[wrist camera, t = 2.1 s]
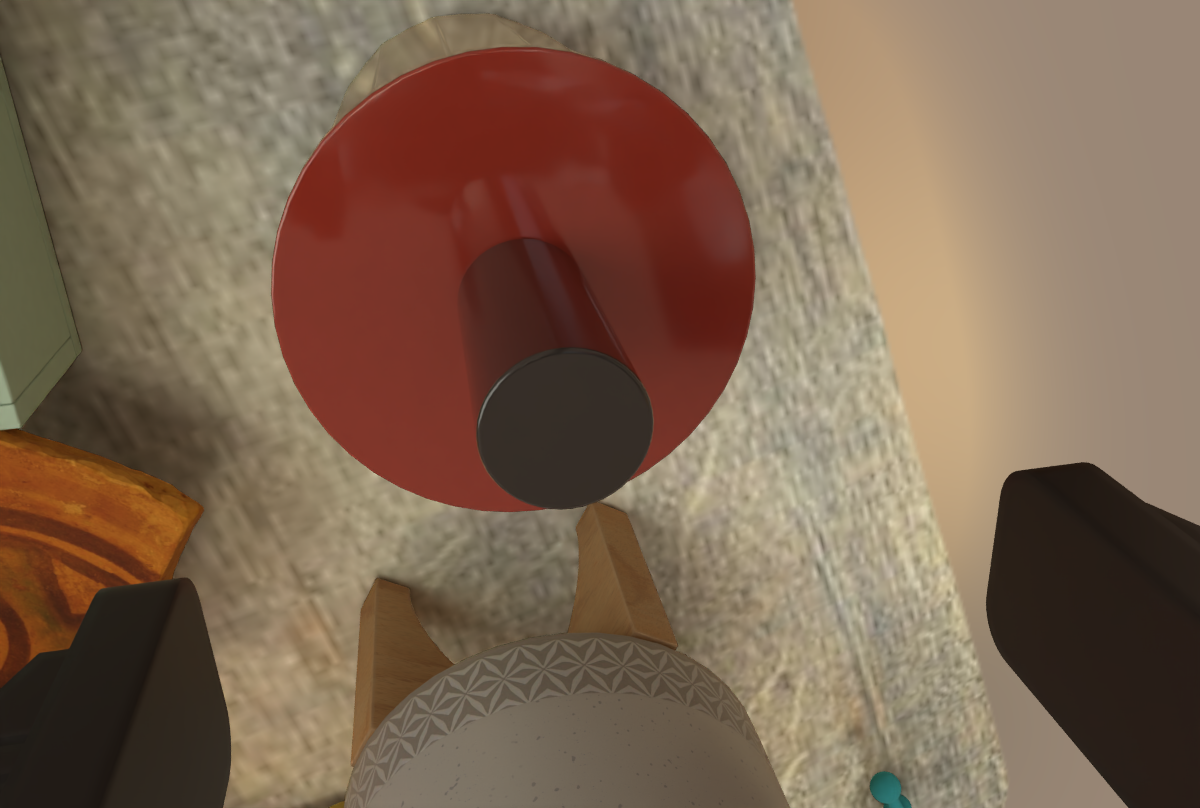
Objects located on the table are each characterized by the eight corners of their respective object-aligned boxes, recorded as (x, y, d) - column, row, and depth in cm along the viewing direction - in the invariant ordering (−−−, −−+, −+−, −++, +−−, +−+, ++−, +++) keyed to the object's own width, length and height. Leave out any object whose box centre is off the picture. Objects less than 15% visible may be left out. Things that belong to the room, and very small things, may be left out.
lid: (234, 57, 17) (144, 119, 11) (742, 25, 18) (904, 65, 12) (319, 511, 21) (285, 739, 15) (736, 459, 22) (859, 651, 16)
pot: (316, 22, 29) (252, 79, 17) (601, 5, 30) (736, 47, 18) (358, 298, 32) (329, 511, 20) (612, 273, 33) (731, 462, 21)
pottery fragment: (-146, 719, 30) (-300, 559, 23) (-96, 580, 33) (-218, 394, 25) (210, 720, 33) (180, 574, 25) (230, 589, 35) (209, 422, 28)
